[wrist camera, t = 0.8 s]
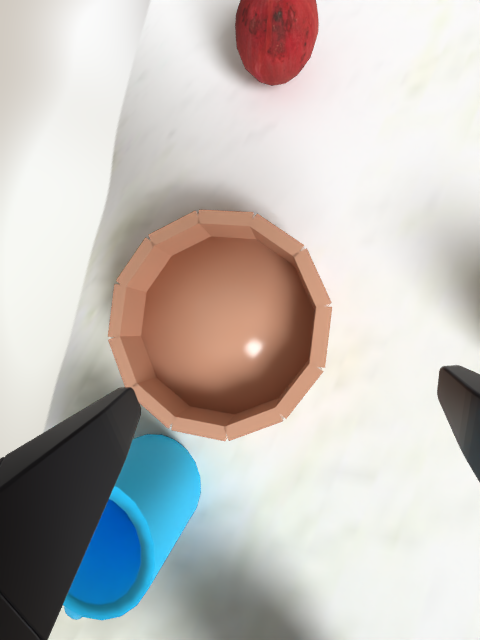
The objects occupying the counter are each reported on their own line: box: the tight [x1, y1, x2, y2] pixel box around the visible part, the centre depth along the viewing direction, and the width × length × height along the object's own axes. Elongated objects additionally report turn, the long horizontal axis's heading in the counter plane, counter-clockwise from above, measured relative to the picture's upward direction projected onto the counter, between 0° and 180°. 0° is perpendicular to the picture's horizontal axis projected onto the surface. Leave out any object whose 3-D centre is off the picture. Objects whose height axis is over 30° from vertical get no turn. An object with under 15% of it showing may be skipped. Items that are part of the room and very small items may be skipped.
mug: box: [63, 434, 201, 620], centre depth 22 cm, size 12×8×8 cm
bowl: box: [108, 210, 332, 441], centre depth 23 cm, size 16×16×4 cm
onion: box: [235, 0, 318, 85], centre depth 21 cm, size 6×6×8 cm
